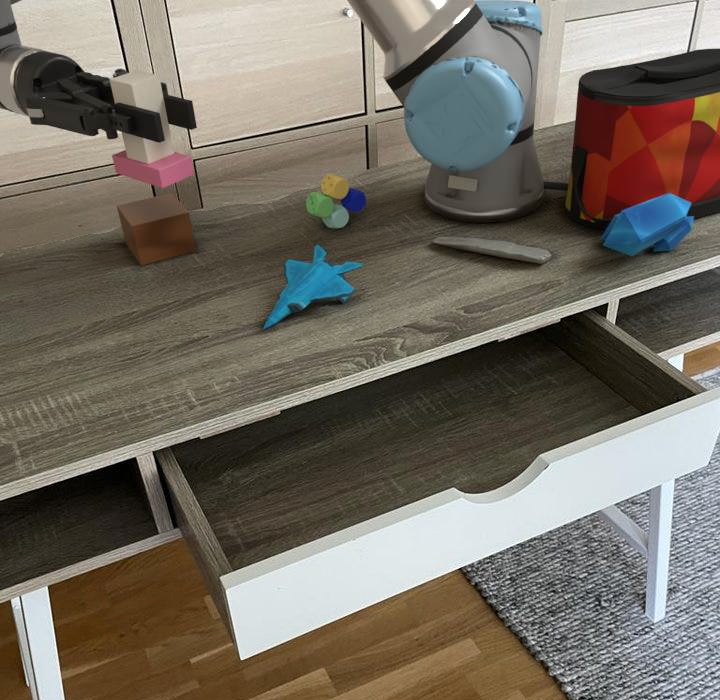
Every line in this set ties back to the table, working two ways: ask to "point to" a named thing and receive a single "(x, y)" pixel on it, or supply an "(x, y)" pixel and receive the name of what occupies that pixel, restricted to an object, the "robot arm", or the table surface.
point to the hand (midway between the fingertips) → (175, 121)
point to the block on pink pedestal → (142, 154)
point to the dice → (327, 209)
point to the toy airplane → (311, 284)
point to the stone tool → (496, 248)
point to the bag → (647, 137)
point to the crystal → (650, 225)
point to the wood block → (157, 228)
